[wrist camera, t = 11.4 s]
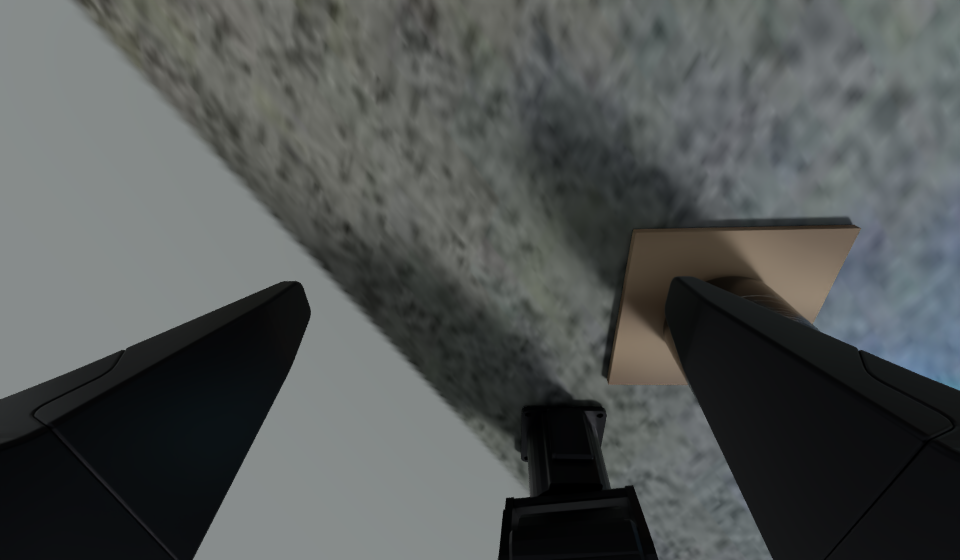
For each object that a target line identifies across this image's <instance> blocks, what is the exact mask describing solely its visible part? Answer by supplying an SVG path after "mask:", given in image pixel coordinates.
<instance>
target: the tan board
mask: <svg viewBox="0 0 960 560" xmlns="http://www.w3.org/2000/svg"><path fill="white" fill-rule="evenodd" d="M860 229H861V228H859V227H857V226H855V225H818V226H769V227H720V228H670V229H633V233H632V239H631V244H630V250H629V256H628V261H627V267H626V273H625V279H624V284H623V290H622V296H621V302H620V307H619V313H618V319H617V324H616V330H615V336H614V342H613V347H612V353H611V359H610V365H609V370H608V376H607V381H608V384H611V385H688V383H687V382H686V380H685V378H684V376H683V374H682V373H681V371H680V369H679V367H678V365H677V364H676V362H675V360H674V358H673V356H672V354H671V353H670V351H669V349H668V347H667V345H666V343H665V340H664V336H663V324H664V320H665V310H664V309H665V303H666V299H667V295H668V291H669V287H670V283H671V281H672V279H673V278H674V277H677V276H692V277H695V278H698V279H700V280H702V281H708V280H711V279H715V278H719V277H726V276H743V277H749V278H753V279H756V280H758V281H761V282H763V283H764V284H766V285H768V286H769V287H770V288H771V289H773V290H774V291H775V292H776V293H777V294H779V295H780V296H781V297H782V298H783V299H784V300H786V301H787V302H788V303H789V304H790V305H791V306H792V307H793V308H795V309H796V310H797V311H798V312H799V313H800V314H801V315H802V316H804V317H805V318H806V319H807V320H808V321H809V322H810V323H811V324H813V322H814V320H815V318H816V316H817V314H818V312H819V310H820V308H821V307H822V305H823V303H824V301H825V299H826V297H827V295H828V293H829V291H830V289H831V287H832V285H833V283H834V281H835V279H836V277H837V275H838V273H839V271H840V269H841V267H842V265H843V263H844V261H845V259H846V257H847V255H848V253H849V251H850V249H851V247H852V245H853V243H854V241H855V239H856V237H857V235H858V233H859V231H860Z"/></svg>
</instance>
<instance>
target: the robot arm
mask: <svg viewBox="0 0 960 560" xmlns="http://www.w3.org/2000/svg"><path fill="white" fill-rule="evenodd" d="M664 310H665V317H666V320H667V323H668V326H669V329H670V332H671V335H672V338H673V341H674V344H675V347H676V350H677V353H678V356H679V359H680V362H681V365H682V367H683V370H684V372H685V374H686V377H687V379H688V381H689V383H690V385H691V387H692V390H693V392H694V394H695V396H696V398H697V400H698V402H699V404H700V406H701V409H702V411H703V413H704V415H705V417H706V419H707V421H708V423H709V425H710V427H711V430H712V432H713V434H714V436H715V438H716V440H717V442H718V444H719V446H720V449H721V451H722V453H723V455H724V457H725V459H726V461H727V463H728V465H729V468H730V470H731V472H732V474H733V476H734V478H735V480H736V482H737V484H738V487H739V489H740V491H741V493H742V495H743V497H744V499H745V501H746V503H747V505H748V508H749V510H750V512H751V514H752V516H753V518H754V520H755V522H756V524H757V527H758V529H759V531H760V533H761V535H762V537H763V539H764V541H765V543H766V546H767V548H768V550H769V552H770V554H771V556H772V558H773V560H960V391H959V390H957V389H954V388H952V387H949V386H947V385H944V384H942V383H939V382H937V381H934V380H932V379H929V378H927V377H924V376H922V375H919V374H917V373H915V372H912V371H910V370H908V369H905V368H903V367H900V366H898V365H896V364H893V363H891V362H889V361H886V360H884V359H882V358H879V357H877V356H875V355H872V354H870V353H868V352H866V351H863V350H859V351H858V349H857V348H856V347H854V346H852V345H849V344H847V343H845V342H842V341H840V340H838V339H835V338H833V337H831V336H829V335H826V334H824V333H822V332H819V331H817V330H815V329H813V328H810V327H808V326H806V325H803V324H801V323H799V322H796V321H794V320H792V319H790V318H787V317H785V316H783V315H780V314H778V313H776V312H773V311H771V310H769V309H767V308H764V307H762V306H760V305H757V304H755V303H753V302H750V301H748V300H746V299H744V298H741V297H739V296H737V295H734V294H732V293H730V292H728V291H725V290H723V289H721V288H718V287H716V286H714V285H711V284H709V283H707V282H705V281H702V280H700V279H698V278H695V277H692V276H677V277H674V278H673V279H672V281H671V283H670V287H669V291H668V295H667V299H666V303H665V309H664ZM310 315H311V310H310V306H309V303H308V300H307V298H306V294H305V292H304V288H303V286H302V285H301V283H299V282H297V281H284V282H280V283H278V284H275V285H273V286H271V287H269V288H266V289H264V290H261V291H259V292H257V293H255V294H252V295H250V296H248V297H245V298H243V299H240V300H238V301H236V302H234V303H231V304H229V305H226V306H224V307H222V308H219V309H217V310H215V311H212V312H210V313H208V314H205V315H203V316H201V317H198V318H196V319H194V320H191V321H189V322H187V323H184V324H182V325H180V326H177V327H175V328H173V329H170V330H168V331H166V332H163V333H161V334H159V335H156V336H154V337H152V338H149V339H147V340H144V341H142V342H140V343H138V344H135V345H133V346H130V347H128V348H127V349H126V350H121V351H119V352H116V353H114V354H112V355H109V356H107V357H105V358H102V359H100V360H97V361H95V362H93V363H91V364H88V365H85V366H84V367H81V368H78V369H76V370H73V371H71V372H69V373H66V374H64V375H61V376H59V377H56V378H54V379H51V380H49V381H46V382H44V383H41V384H39V385H36V386H34V387H31V388H28V389H26V390H23V391H21V392H18V393H16V394H13V395H11V396H8V397H5V398H3V399H0V560H193V558H194V556H195V554H196V552H197V550H198V548H199V547H200V545H201V542H202V541H203V538H204V537H205V535H206V533H207V531H208V529H209V527H210V525H211V523H212V521H213V519H214V517H215V515H216V513H217V511H218V509H219V508H220V505H221V504H222V502H223V500H224V498H225V496H226V494H227V492H228V490H229V488H230V486H231V484H232V482H233V480H234V478H235V476H236V474H237V472H238V470H239V468H240V467H241V465H242V463H243V461H244V459H245V457H246V455H247V453H248V451H249V449H250V447H251V445H252V443H253V441H254V439H255V437H256V435H257V434H258V432H259V429H260V428H261V426H262V424H263V422H264V420H265V418H266V416H267V414H268V412H269V410H270V408H271V406H272V404H273V402H274V400H275V398H276V396H277V394H278V393H279V391H280V389H281V387H282V385H283V383H284V381H285V379H286V377H287V375H288V373H289V371H290V369H291V366H292V364H293V361H294V359H295V356H296V354H297V351H298V348H299V346H300V343H301V341H302V338H303V335H304V332H305V330H306V327H307V325H308V322H309V319H310ZM606 417H607V414H606V411H605V409H604V408H602V407H548V406H527V407H524V408H523V409H522V423H521V459H522V460H523V461H525V462H528V471H529V488H530V497H526V498H516V499H514V497H511V498H506V505H505V510H504V511H503V519H502V529H501V539H500V549H499V556H498V560H658V557H657V554H656V550H655V547H654V544H653V541H652V538H651V535H650V532H649V529H648V526H647V524H646V521H645V518H644V515H643V512H642V509H641V507H640V504H639V501H638V498H637V495H636V492H635V489H634V487H633V485H630V486H625V488H616V489H611V487H610V483H609V479H608V475H607V471H606V467H605V463H604V459H603V455H602V451H601V444H602V438H603V433H604V428H605V422H606Z"/></svg>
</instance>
